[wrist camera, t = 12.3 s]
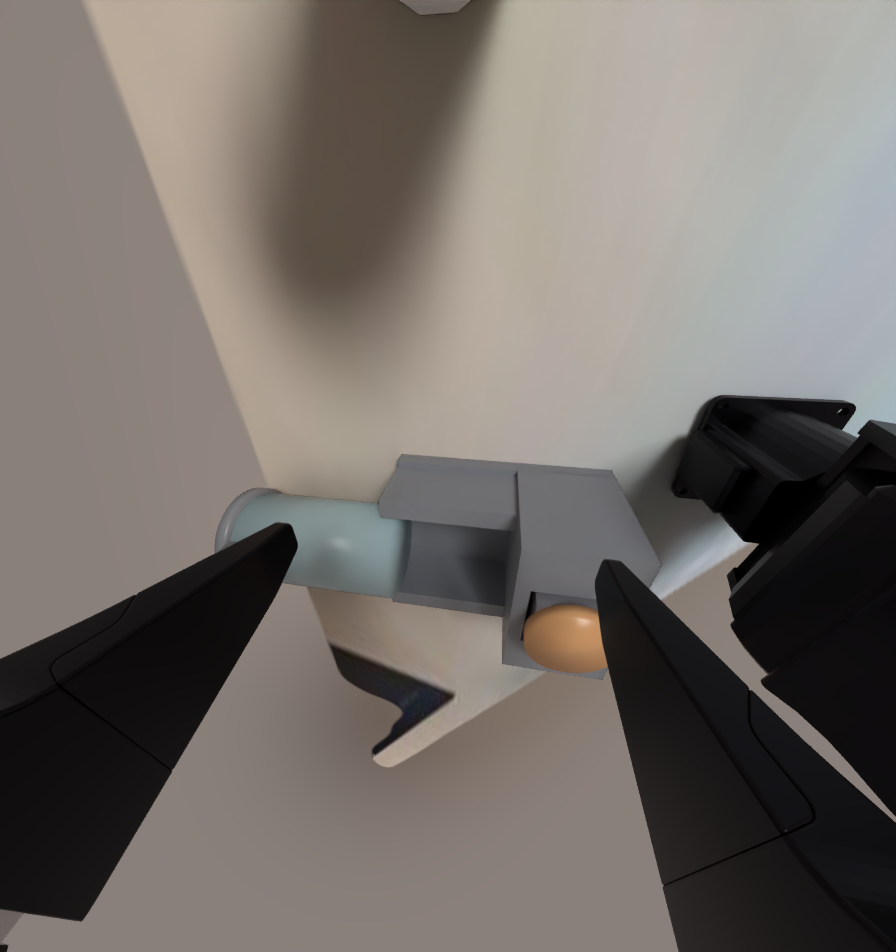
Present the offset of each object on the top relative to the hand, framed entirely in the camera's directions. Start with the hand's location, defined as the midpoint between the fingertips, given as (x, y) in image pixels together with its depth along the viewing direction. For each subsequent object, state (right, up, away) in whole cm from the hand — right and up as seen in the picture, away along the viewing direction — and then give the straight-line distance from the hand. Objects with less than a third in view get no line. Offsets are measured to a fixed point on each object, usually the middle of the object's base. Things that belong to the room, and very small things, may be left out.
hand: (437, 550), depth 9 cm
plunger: (+7, -4, +10) cm, 13 cm away
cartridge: (-8, -1, +16) cm, 17 cm away
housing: (+3, -1, +15) cm, 15 cm away
